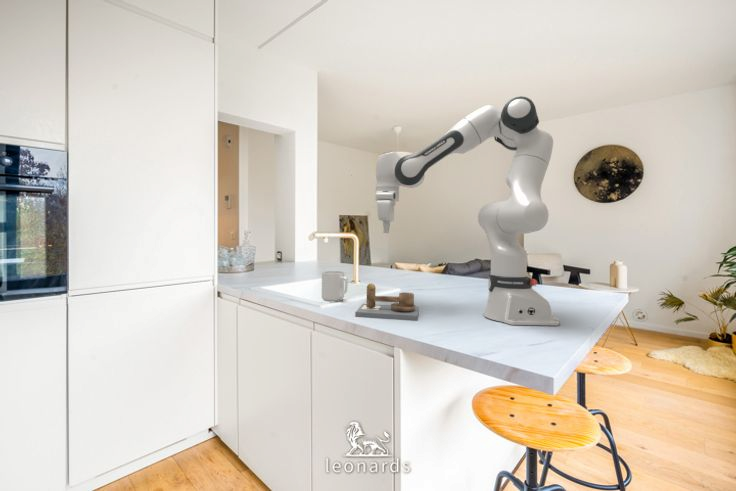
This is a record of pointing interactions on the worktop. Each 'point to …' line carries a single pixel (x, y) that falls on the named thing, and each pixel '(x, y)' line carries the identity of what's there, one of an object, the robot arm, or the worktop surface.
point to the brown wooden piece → (391, 300)
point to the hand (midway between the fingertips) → (386, 233)
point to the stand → (386, 312)
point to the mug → (333, 285)
